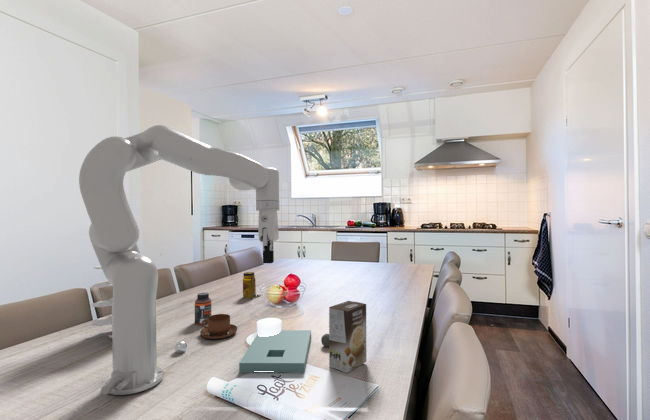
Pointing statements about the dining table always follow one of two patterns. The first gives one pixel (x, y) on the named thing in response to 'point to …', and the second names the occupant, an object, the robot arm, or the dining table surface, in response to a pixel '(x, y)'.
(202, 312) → the supplement bottle
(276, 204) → the robot arm
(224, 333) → the cup and saucer
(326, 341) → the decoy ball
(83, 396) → the dining table surface
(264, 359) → the grey-green flat board
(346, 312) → the coffee box
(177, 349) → the ball
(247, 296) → the condiment
